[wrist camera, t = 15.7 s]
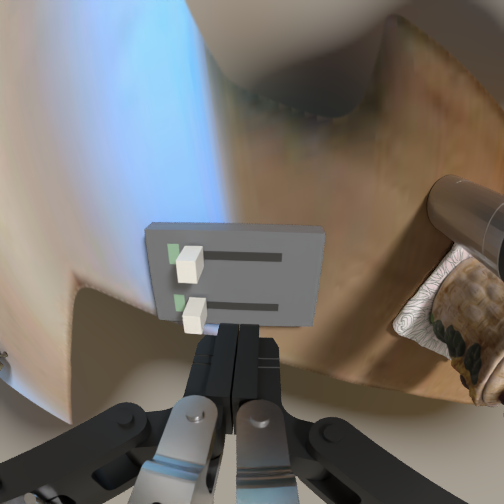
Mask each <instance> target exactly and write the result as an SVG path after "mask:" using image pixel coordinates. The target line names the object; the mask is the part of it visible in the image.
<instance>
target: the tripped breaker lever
mask: <svg viewBox="0 0 504 504" xmlns="http://www.w3.org/2000/svg"><path fill="white" fill-rule="evenodd" d="M182 317H183V324H184V330H185V333H192V334H202V332H203V329H204V325H205V321H206V318H207V305H206V298H196V297H189V300H188V302H187V305H186V307H185V310H184V312H183V315H182Z"/></svg>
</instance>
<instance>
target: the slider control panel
mask: <svg viewBox="0 0 504 504" xmlns="http://www.w3.org/2000/svg"><path fill="white" fill-rule="evenodd" d="M144 230H145V239H146V246H147V253H148V260H149V267H150V273H151V280H152V285H153V291H154V297H155V302H156V308H157V313H158V318H159V319H160V320H171V321H182V322H183V317H182V315H183V312H184V310H185V307H186V305H187V302H188V300H189V297H196V298H206V305H207V318H206V321H205V323H211V324H220V323H235V324H239V325H240V324H259V326H313V321H314V315H315V309H316V303H317V296H318V289H319V282H320V275H321V268H322V260H323V252H324V244H325V235H326V234H325V232H324V230H323V228H322V226H305V225H277V224H240V223H161V222H152V223H151V224H150V225H149V226H148V227H147V228H146V229H144ZM184 246H203V259H204V268H203V270H202V273H201V275H200V278H199V280H198V283H197V284H193V283H178V277H177V268H176V259H177V258H178V256H179V254H180V253H181V251H182V250H183V248H184Z"/></svg>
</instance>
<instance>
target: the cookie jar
mask: <svg viewBox="0 0 504 504" xmlns="http://www.w3.org/2000/svg"><path fill="white" fill-rule="evenodd" d="M393 328H394V330H395V332H397V333H398V334H399V335H400V336H403V337H406V338H408V339H411V340H414V341H416V342H417V343H418V344H419V345H421V346H422V347H426V348H428V349H429V350H433V351H435V352H436V353H438V354H441V355H444V356H445V357H447V358H448V359H449V360H452V362H451V366H452V367H453V368H454V369H455V370H456V371H458V372H459V373H460V380H461V382H462V384H463V386H464V387H466V388H467V389H469V396H470V397H471V398H472V401H473V402H474V404H475V405H476V406H478V407H479V406H484V405H485V406H489V407H498V406H499V405H500V403H502V404H503V405H504V282H503V281H502V280H500V279H499V278H498V277H497V276H496V275H495V274H494V273H492V272H491V271H490V270H489V269H488V268H486V267H485V266H484V265H483V264H482V263H480V262H479V261H478V260H477V259H475V258H474V257H473V256H472V255H470V254H469V253H468V252H467V251H465V250H464V249H463V248H462V247H460V246H459V245H458V244H456V243H454V245H453V246H452V248H451V250H450V251H449V252H448V253H447V254H446V256H445V257H444V258H443V259H442V261H441V262H440V263H439V265H438V266H437V268H436V269H435V270H434V272H433V273H432V274H431V275H430V277H429V278H428V279H427V280H426V281H425V282H424V284H423V285H422V286H421V287H420V289H419V290H418V292H417V293H416V294H415V295H414V296H413V297H412V298H411V299H410V300H409V301H408V303H407V304H406V305H405V306H404V307H403V309H402V310H401V312H400V313H399V314H398V316H397V317H396V318H395V320H394V322H393Z"/></svg>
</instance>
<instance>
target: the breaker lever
mask: <svg viewBox="0 0 504 504" xmlns="http://www.w3.org/2000/svg"><path fill="white" fill-rule="evenodd" d="M176 268H177V277H178V283H193V284H197V283H198V280H199V278H200V275H201V273H202V270H203V268H204V259H203V246H184V248H183V250H182V251H181V253H180V254H179V256H178V258H177V259H176Z"/></svg>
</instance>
